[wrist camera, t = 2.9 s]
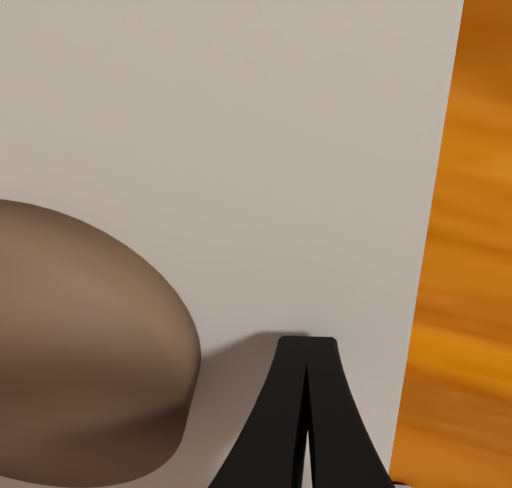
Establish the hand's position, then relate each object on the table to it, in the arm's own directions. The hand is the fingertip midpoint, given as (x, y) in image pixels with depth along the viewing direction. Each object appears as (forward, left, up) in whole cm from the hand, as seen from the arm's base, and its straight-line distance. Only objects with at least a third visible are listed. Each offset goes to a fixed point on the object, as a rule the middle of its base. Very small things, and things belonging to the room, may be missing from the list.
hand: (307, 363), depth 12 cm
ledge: (0, +5, -4) cm, 7 cm away
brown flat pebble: (0, +7, -1) cm, 7 cm away
